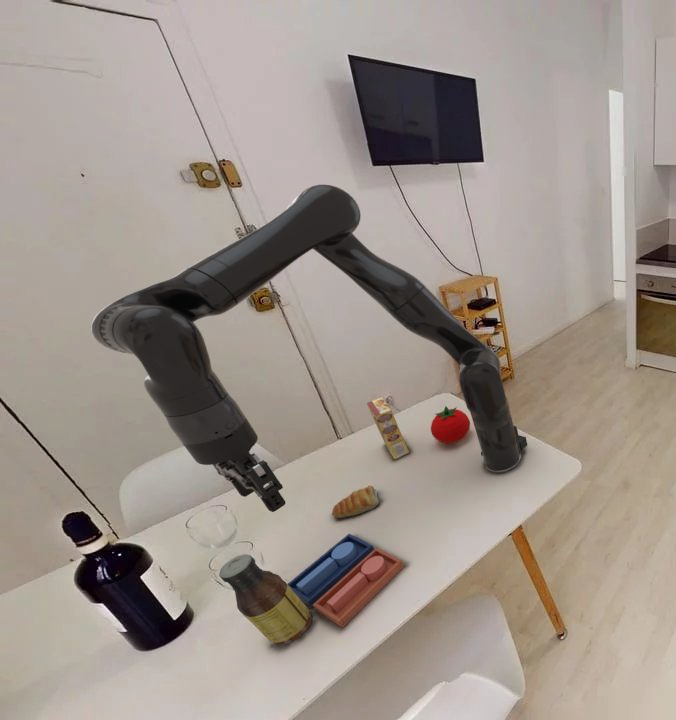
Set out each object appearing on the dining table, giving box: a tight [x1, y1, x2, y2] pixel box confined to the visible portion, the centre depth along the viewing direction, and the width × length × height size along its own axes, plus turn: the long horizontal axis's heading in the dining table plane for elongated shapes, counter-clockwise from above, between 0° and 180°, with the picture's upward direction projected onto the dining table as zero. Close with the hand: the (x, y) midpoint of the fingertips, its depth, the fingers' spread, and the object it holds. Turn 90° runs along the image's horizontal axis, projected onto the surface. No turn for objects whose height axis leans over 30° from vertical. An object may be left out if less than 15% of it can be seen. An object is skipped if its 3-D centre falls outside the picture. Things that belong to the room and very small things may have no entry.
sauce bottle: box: [218, 553, 313, 646], centre depth 70 cm, size 6×6×20 cm
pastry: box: [331, 485, 379, 519], centre depth 98 cm, size 9×7×4 cm
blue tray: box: [287, 533, 375, 609], centre depth 84 cm, size 13×8×2 cm, turn 156°
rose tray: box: [313, 547, 405, 629], centre depth 81 cm, size 13×8×2 cm, turn 156°
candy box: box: [366, 397, 410, 460], centre depth 113 cm, size 9×4×15 cm, turn 44°
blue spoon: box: [296, 542, 358, 596], centre depth 83 cm, size 11×4×3 cm, turn 156°
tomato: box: [430, 405, 471, 444], centre depth 118 cm, size 10×10×10 cm
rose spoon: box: [327, 556, 387, 613], centre depth 80 cm, size 11×4×3 cm, turn 156°
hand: (263, 500), depth 71 cm, fingers open, 8 cm apart
